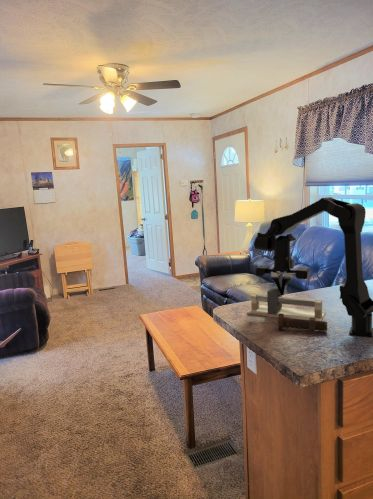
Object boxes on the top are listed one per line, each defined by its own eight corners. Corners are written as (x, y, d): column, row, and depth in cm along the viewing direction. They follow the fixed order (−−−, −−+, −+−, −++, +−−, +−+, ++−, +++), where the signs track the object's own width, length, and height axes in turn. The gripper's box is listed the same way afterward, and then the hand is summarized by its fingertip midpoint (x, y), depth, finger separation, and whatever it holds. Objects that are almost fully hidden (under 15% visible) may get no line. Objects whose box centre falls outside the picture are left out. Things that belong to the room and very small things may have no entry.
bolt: (326, 338, 119) (277, 333, 123) (326, 326, 122) (279, 321, 127) (327, 326, 115) (277, 322, 120) (327, 314, 119) (278, 310, 123)
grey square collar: (275, 313, 135) (275, 292, 134) (267, 312, 137) (267, 291, 135) (282, 307, 142) (281, 286, 141) (274, 306, 143) (273, 285, 142)
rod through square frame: (320, 322, 127) (320, 305, 126) (247, 313, 140) (246, 297, 139) (325, 313, 135) (325, 296, 134) (256, 305, 148) (255, 290, 147)
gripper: (313, 249, 137) (313, 291, 139) (263, 248, 146) (264, 287, 148) (306, 255, 127) (307, 300, 130) (253, 253, 136) (255, 295, 139)
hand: (282, 295), depth 137 cm, fingers closed
